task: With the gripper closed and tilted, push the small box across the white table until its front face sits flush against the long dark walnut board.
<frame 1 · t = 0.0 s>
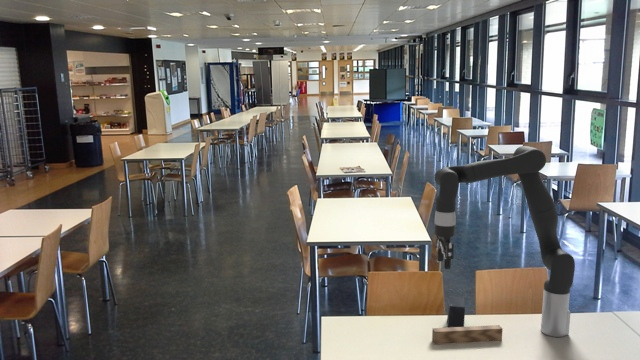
hand: (443, 264, 204), 29 cm above the table, tool pointing down, fingers open, 8 cm apart
small box: (455, 326, 220), on the table
walnut board: (466, 340, 207), on the table
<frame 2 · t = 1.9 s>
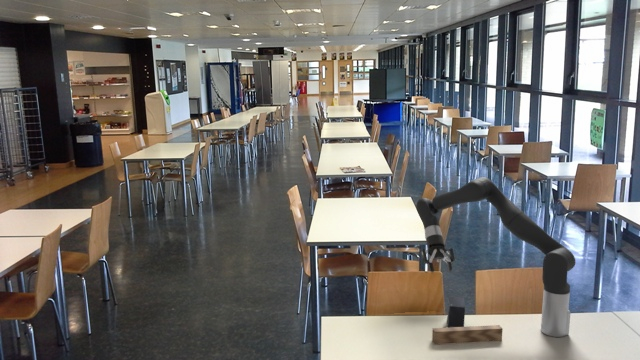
hand: (441, 271, 236), 16 cm above the table, tool tilted 45°, fingers open, 7 cm apart
nothing on the table moved.
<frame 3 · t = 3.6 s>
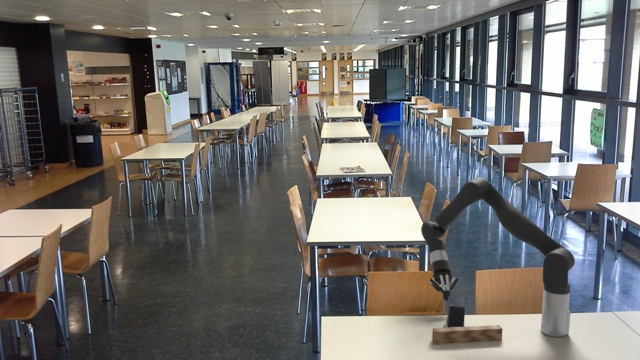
hand: (447, 300, 229), 6 cm above the table, tool tilted 45°, fingers closed
nothing on the table moved.
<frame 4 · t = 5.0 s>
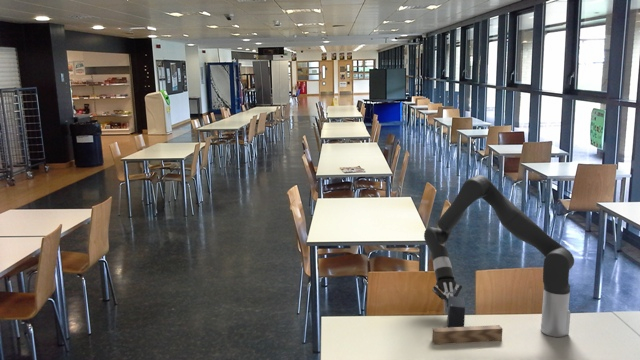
hand: (451, 308, 225), 5 cm above the table, tool tilted 45°, fingers closed
small box: (455, 326, 220), on the table, touching gripper
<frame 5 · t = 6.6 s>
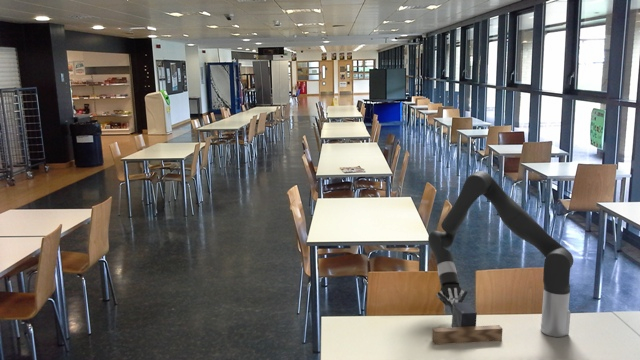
hand: (456, 314, 218), 5 cm above the table, tool tilted 45°, fingers closed
small box: (463, 332, 214), on the table, touching gripper, walnut board
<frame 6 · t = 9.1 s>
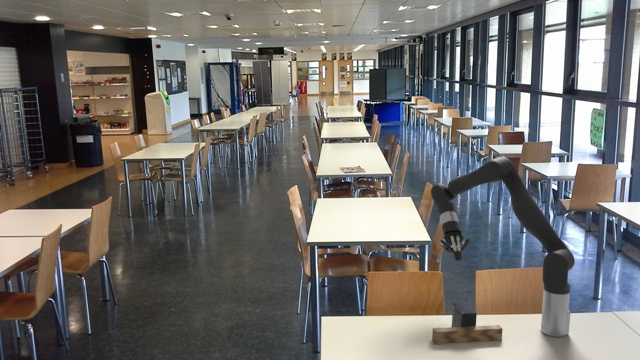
hand: (458, 260, 226), 24 cm above the table, tool tilted 45°, fingers closed
small box: (463, 333, 214), on the table
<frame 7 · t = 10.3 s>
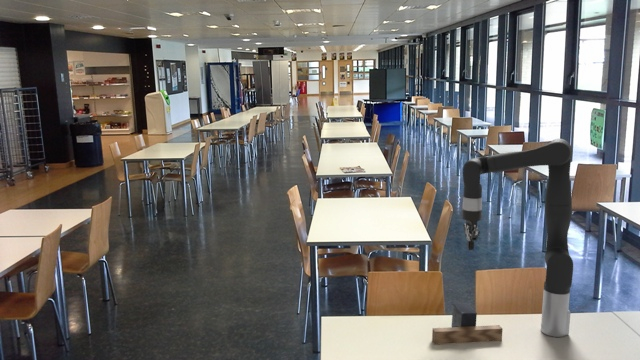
hand: (470, 249, 223), 29 cm above the table, tool pointing down, fingers closed
nothing on the table moved.
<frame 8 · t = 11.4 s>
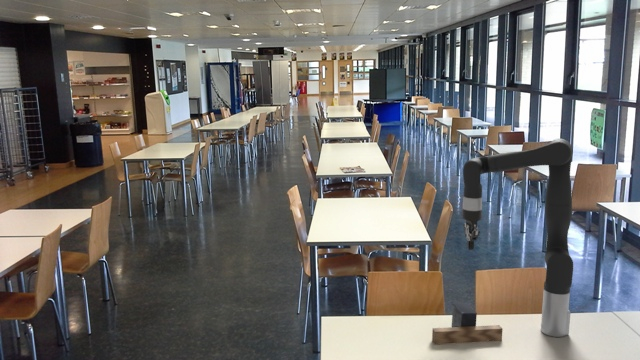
hand: (470, 249, 223), 29 cm above the table, tool pointing down, fingers closed
nothing on the table moved.
at the end: small box inside the target area on the table beside the walnut board (1.1 cm from its centre), on the table; small box tilted 0° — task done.
